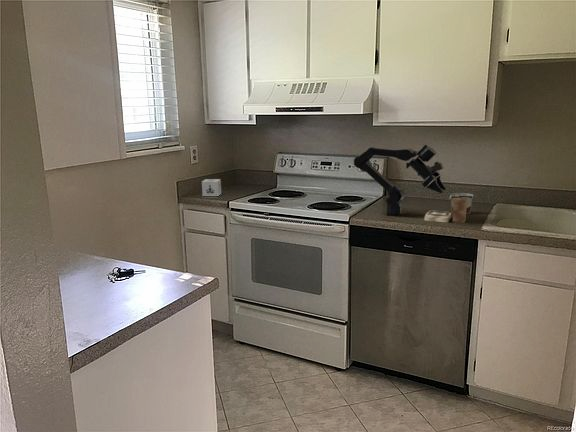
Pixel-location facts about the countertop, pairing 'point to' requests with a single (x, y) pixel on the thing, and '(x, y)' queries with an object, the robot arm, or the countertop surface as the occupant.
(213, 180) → the icon cube
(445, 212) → the base plate
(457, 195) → the food container
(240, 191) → the countertop surface
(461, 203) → the tan orange upright block
